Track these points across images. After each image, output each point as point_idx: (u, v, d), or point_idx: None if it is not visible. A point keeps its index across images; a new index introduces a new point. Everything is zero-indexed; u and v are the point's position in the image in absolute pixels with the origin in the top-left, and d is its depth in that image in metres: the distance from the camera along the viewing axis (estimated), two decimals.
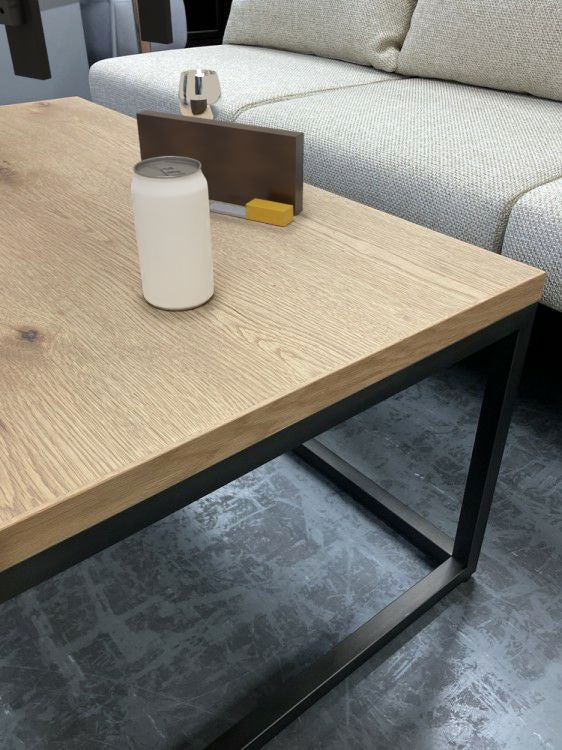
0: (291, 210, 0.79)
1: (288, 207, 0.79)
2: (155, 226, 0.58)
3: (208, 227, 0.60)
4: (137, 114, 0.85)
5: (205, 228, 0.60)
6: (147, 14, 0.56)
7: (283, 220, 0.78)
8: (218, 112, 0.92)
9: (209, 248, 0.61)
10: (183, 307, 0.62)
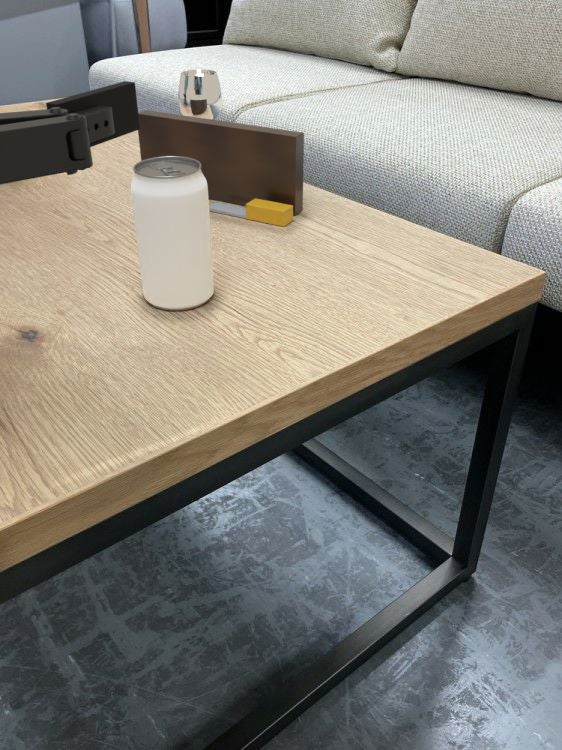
0: (291, 210, 0.79)
1: (288, 207, 0.79)
2: (155, 226, 0.58)
3: (208, 227, 0.60)
4: None
5: (205, 228, 0.60)
6: None
7: (283, 220, 0.78)
8: (218, 112, 0.92)
9: (209, 248, 0.61)
10: (183, 307, 0.62)
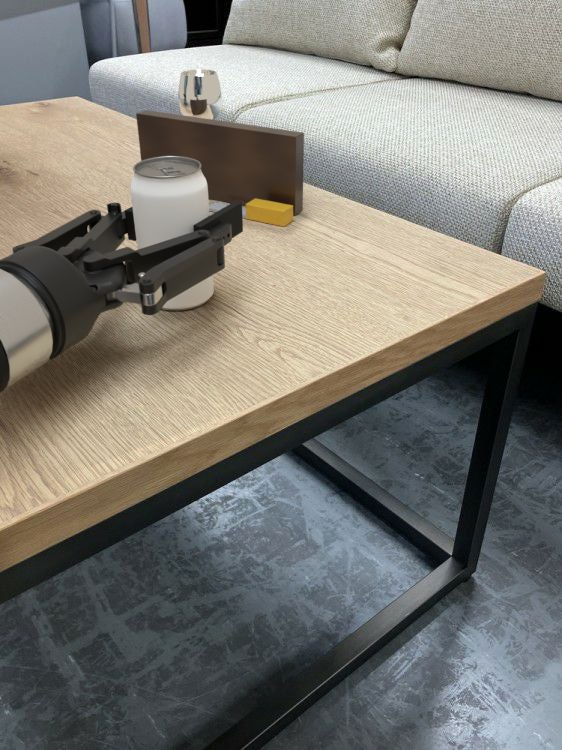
0: (291, 210, 0.79)
1: (288, 207, 0.79)
2: (155, 226, 0.58)
3: None
4: (137, 114, 0.85)
5: None
6: None
7: (283, 220, 0.78)
8: (218, 112, 0.92)
9: None
10: (183, 307, 0.62)
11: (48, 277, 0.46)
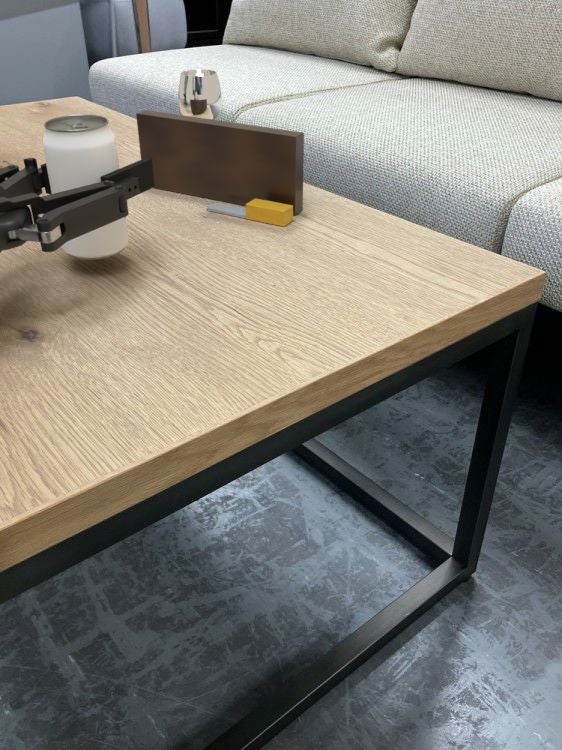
0: (291, 210, 0.79)
1: (288, 207, 0.79)
2: (64, 178, 0.62)
3: None
4: (137, 114, 0.85)
5: None
6: None
7: (283, 220, 0.78)
8: (218, 112, 0.92)
9: None
10: (96, 256, 0.66)
11: None
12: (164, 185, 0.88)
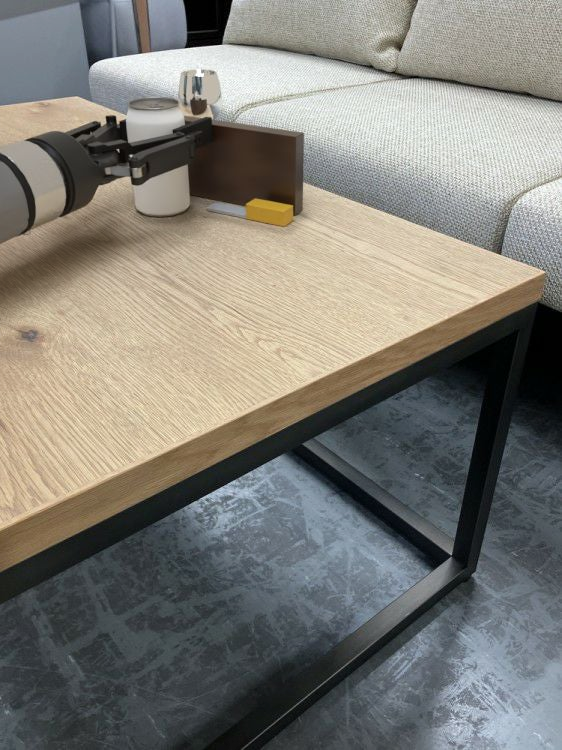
0: (291, 210, 0.79)
1: (288, 207, 0.79)
2: None
3: None
4: None
5: None
6: None
7: (283, 220, 0.78)
8: (218, 112, 0.92)
9: (185, 168, 0.80)
10: (165, 214, 0.81)
11: (63, 149, 0.64)
12: None
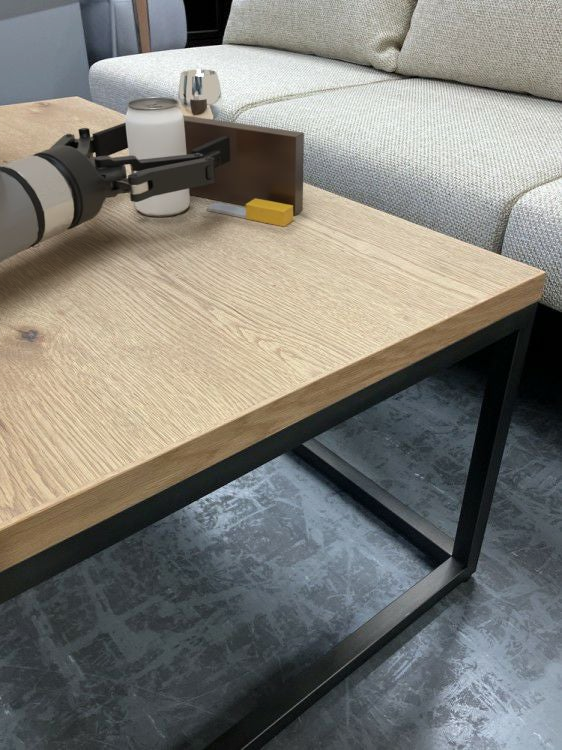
0: (291, 210, 0.79)
1: (288, 207, 0.79)
2: (143, 148, 0.76)
3: (184, 151, 0.79)
4: None
5: (181, 151, 0.78)
6: None
7: (283, 220, 0.78)
8: (218, 112, 0.92)
9: None
10: (165, 214, 0.81)
11: (71, 164, 0.65)
12: None
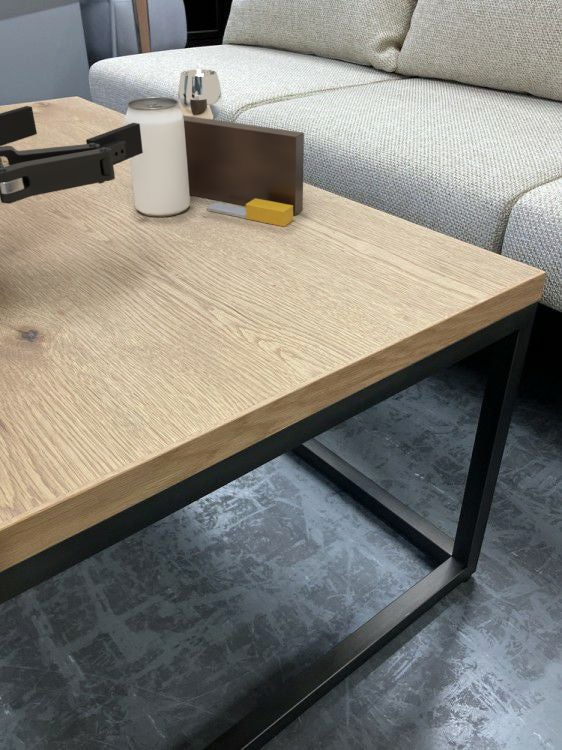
0: (291, 210, 0.79)
1: (288, 207, 0.79)
2: (143, 148, 0.76)
3: (184, 151, 0.79)
4: None
5: (181, 151, 0.78)
6: None
7: (283, 220, 0.78)
8: (218, 112, 0.92)
9: (185, 168, 0.80)
10: (165, 214, 0.81)
11: None
12: None
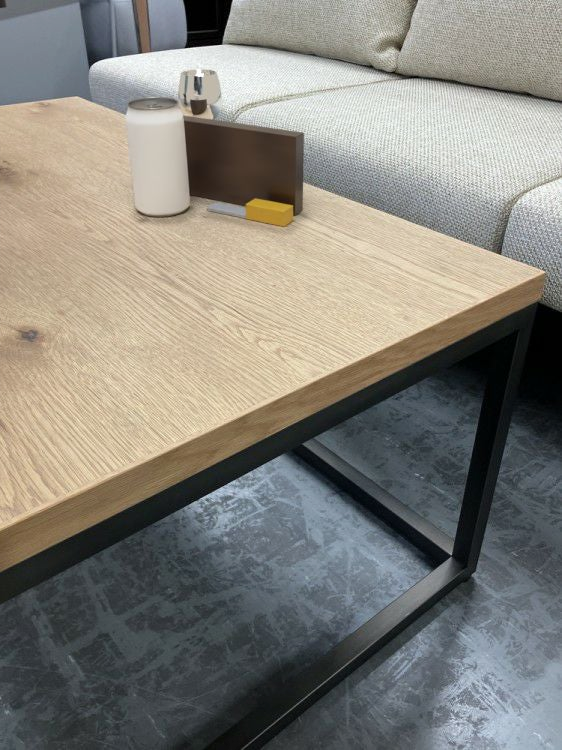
0: (291, 210, 0.79)
1: (288, 207, 0.79)
2: (143, 148, 0.76)
3: (184, 151, 0.79)
4: None
5: (181, 151, 0.78)
6: None
7: (283, 220, 0.78)
8: (218, 112, 0.92)
9: (185, 168, 0.80)
10: (165, 214, 0.81)
11: None
12: None
